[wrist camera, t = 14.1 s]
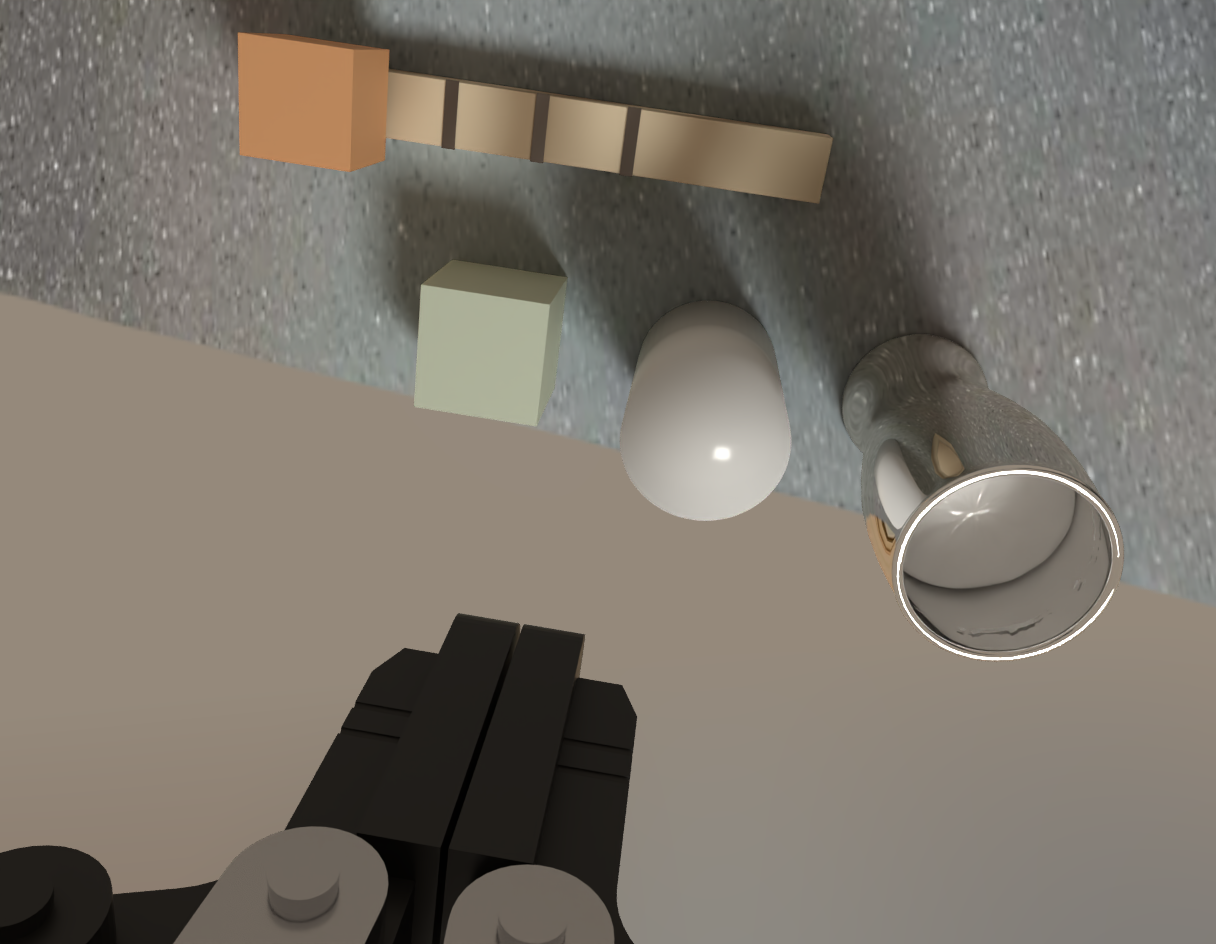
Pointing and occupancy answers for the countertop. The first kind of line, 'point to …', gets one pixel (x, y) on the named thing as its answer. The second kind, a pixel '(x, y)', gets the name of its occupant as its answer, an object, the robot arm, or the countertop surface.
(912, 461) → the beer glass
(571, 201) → the countertop surface
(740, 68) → the countertop surface
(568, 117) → the rail
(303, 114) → the block
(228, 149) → the countertop surface
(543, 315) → the sage block
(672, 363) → the grey rounded cylinder
